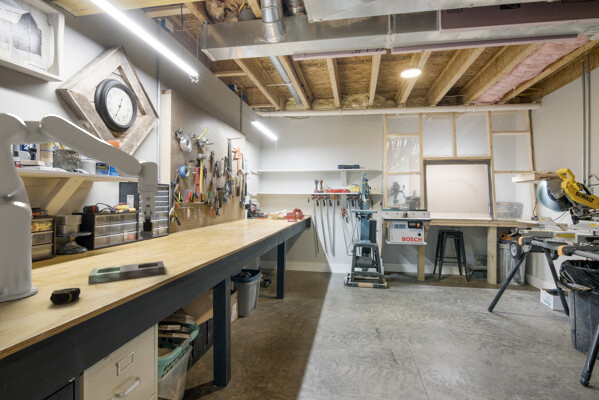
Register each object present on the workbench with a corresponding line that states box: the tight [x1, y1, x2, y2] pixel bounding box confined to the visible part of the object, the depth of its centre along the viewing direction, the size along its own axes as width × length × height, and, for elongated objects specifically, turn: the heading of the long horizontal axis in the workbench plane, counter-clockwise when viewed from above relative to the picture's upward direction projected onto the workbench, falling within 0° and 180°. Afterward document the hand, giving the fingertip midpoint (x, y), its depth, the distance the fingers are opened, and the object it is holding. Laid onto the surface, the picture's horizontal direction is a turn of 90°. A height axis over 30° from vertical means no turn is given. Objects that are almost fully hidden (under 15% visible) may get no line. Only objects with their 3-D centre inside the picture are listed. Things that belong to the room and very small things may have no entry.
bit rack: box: [87, 260, 166, 285], centre depth 112 cm, size 26×12×3 cm, turn 122°
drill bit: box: [139, 222, 155, 241], centre depth 116 cm, size 5×5×10 cm
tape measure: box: [49, 287, 81, 305], centre depth 83 cm, size 7×7×4 cm
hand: (147, 230), depth 116 cm, fingers closed on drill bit, 5 cm apart
